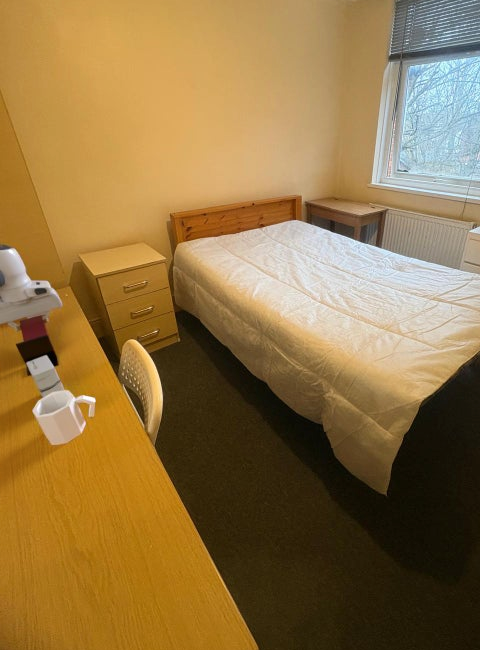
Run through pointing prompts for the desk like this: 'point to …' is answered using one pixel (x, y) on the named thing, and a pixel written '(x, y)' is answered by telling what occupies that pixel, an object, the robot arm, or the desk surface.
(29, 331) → the book
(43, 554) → the desk surface
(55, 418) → the mug
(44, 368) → the ink box
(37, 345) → the bookend
